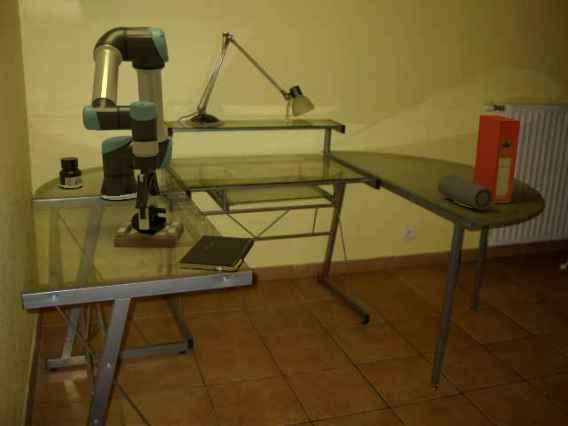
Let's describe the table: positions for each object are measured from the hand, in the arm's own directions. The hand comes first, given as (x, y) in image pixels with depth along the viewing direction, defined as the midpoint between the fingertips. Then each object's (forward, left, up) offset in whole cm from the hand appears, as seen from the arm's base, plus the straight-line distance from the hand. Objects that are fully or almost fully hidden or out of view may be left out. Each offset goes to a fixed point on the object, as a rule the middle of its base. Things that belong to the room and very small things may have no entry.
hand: (149, 222), depth 180 cm
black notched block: (0, 0, -3) cm, 3 cm away
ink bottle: (-64, -47, -6) cm, 80 cm away
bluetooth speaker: (-43, +110, -6) cm, 118 cm away
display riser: (0, 0, -5) cm, 5 cm away
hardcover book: (+14, +23, -6) cm, 27 cm away
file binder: (-54, +124, -5) cm, 135 cm away
